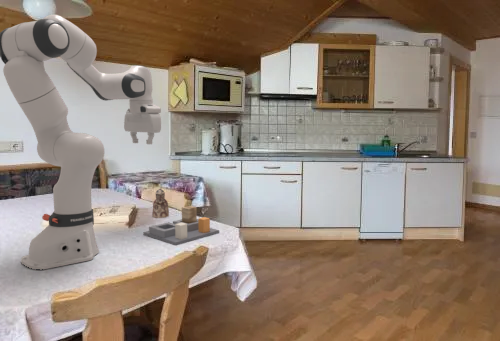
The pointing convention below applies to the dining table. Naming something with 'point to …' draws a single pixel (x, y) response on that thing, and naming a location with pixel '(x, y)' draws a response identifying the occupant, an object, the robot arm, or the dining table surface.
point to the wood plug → (189, 214)
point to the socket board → (189, 234)
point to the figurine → (160, 205)
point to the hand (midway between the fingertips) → (142, 143)
